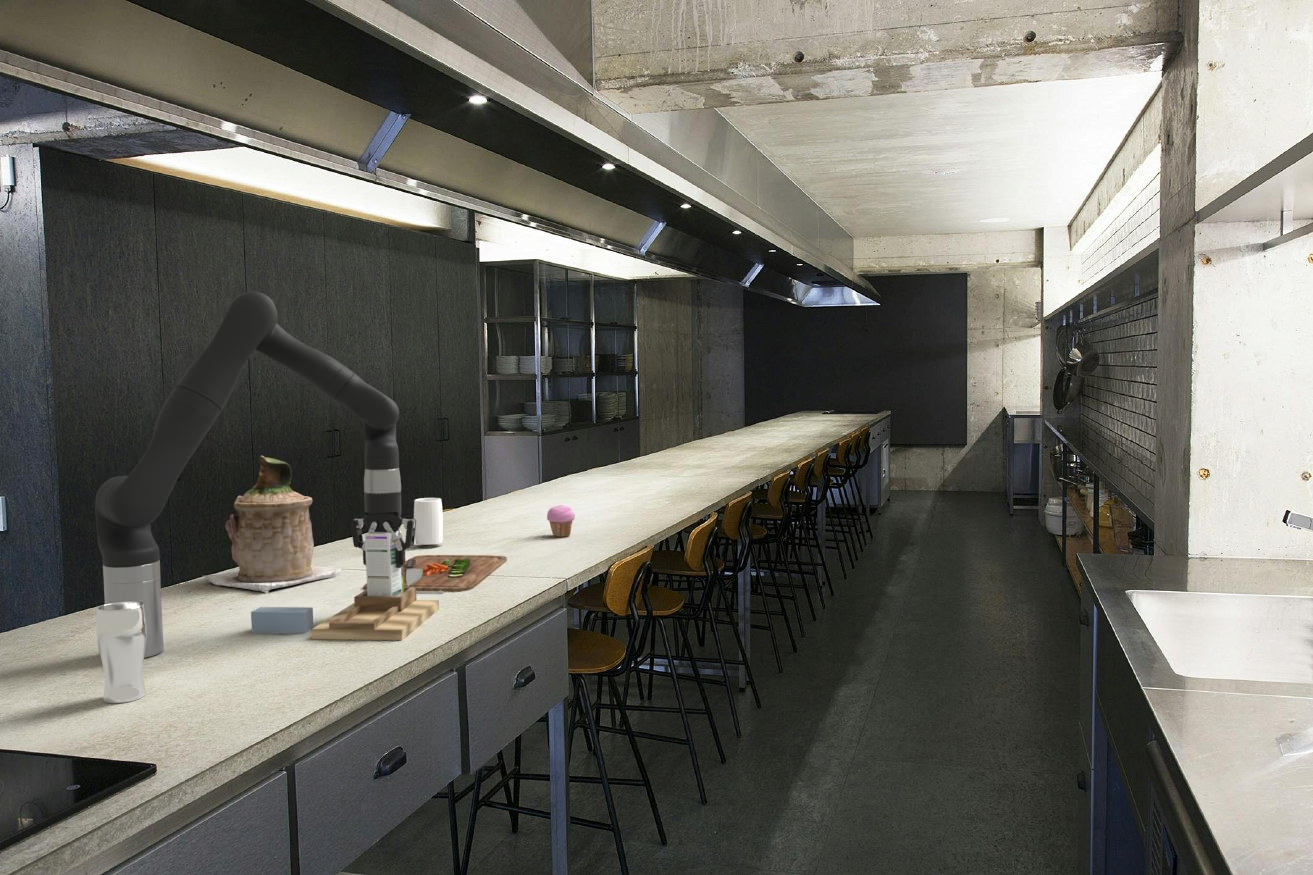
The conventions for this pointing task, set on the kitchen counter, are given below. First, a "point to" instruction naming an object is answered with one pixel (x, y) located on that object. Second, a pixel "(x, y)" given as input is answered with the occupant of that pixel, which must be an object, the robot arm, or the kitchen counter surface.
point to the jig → (378, 617)
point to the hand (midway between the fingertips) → (384, 566)
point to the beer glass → (122, 649)
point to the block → (282, 620)
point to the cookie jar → (271, 535)
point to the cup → (428, 521)
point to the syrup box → (382, 565)
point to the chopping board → (448, 572)
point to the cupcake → (561, 520)
